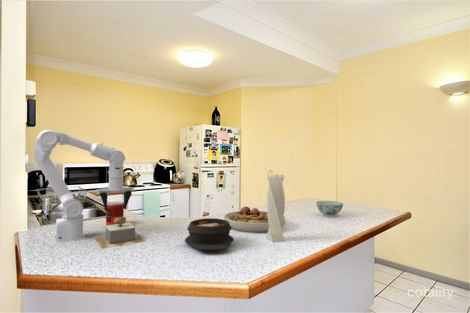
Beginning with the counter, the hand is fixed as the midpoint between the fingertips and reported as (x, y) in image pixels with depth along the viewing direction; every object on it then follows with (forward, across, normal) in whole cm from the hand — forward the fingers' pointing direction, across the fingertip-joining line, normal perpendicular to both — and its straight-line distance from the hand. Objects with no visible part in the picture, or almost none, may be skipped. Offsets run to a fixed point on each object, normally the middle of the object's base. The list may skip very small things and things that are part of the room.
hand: (115, 209), depth 116 cm
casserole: (+11, +27, -35) cm, 45 cm away
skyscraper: (+11, +52, -44) cm, 69 cm away
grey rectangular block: (+10, 0, -12) cm, 16 cm away
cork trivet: (+10, 0, -12) cm, 16 cm away
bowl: (+11, +60, -21) cm, 64 cm away
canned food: (+11, +3, +16) cm, 20 cm away
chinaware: (+11, +113, -26) cm, 116 cm away
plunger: (+10, 0, -12) cm, 16 cm away
